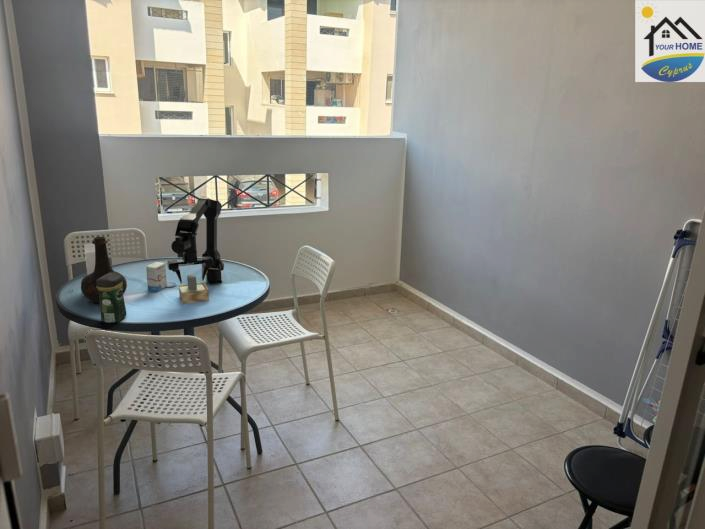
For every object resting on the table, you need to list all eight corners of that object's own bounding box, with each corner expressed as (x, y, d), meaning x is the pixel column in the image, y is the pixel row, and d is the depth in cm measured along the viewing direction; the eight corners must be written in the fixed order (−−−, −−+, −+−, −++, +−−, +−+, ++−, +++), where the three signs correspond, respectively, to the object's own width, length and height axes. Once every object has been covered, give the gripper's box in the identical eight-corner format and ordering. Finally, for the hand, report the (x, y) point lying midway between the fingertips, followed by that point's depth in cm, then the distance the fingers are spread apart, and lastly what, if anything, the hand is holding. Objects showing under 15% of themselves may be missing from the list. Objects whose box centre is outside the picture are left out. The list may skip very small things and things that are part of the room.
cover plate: (202, 285, 232) (201, 272, 230) (205, 291, 225) (205, 277, 224) (179, 288, 228) (178, 275, 226) (182, 294, 221) (181, 280, 219)
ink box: (157, 292, 234) (155, 267, 231) (147, 291, 235) (145, 266, 231) (167, 286, 242) (165, 262, 239) (158, 285, 243) (155, 261, 239)
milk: (104, 291, 233) (99, 244, 226) (89, 293, 231) (83, 245, 224) (104, 287, 238) (99, 241, 232) (90, 288, 236) (84, 242, 229)
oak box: (204, 293, 235) (203, 282, 233) (209, 300, 226) (208, 289, 225) (179, 296, 230) (178, 285, 228) (183, 304, 221) (182, 292, 220)
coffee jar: (111, 313, 209) (105, 270, 204) (129, 315, 209) (125, 271, 203) (97, 323, 200) (91, 278, 195) (117, 324, 199) (111, 279, 194)
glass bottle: (79, 297, 225) (70, 235, 217) (122, 289, 236) (115, 230, 228) (88, 310, 212) (79, 244, 204) (133, 301, 222) (126, 239, 214)
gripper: (207, 240, 232) (209, 273, 236) (164, 244, 224) (167, 278, 228) (213, 247, 222) (215, 281, 227) (167, 251, 214) (170, 286, 219)
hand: (192, 281), depth 226 cm, fingers open, 9 cm apart
